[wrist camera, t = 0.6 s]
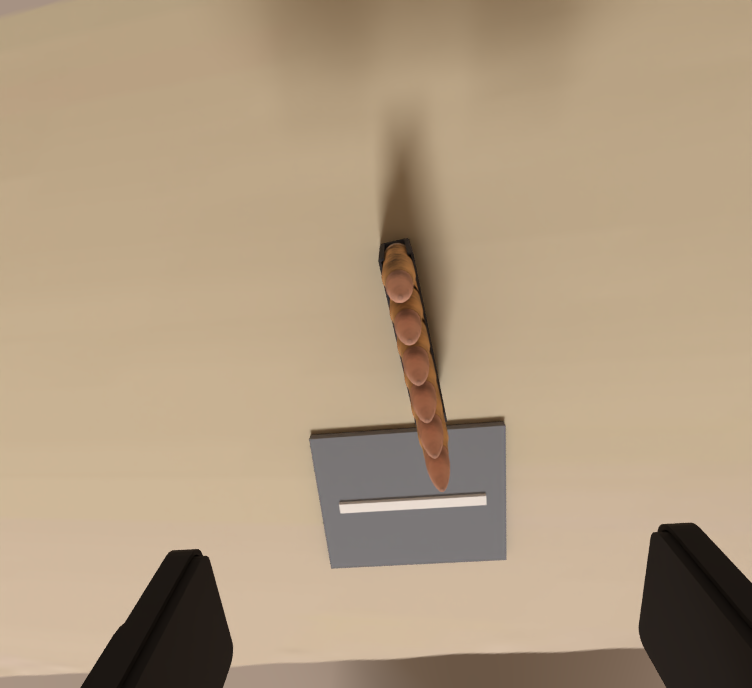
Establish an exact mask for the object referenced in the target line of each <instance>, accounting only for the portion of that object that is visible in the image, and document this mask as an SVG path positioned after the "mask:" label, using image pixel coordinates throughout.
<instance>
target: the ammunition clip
mask: <svg viewBox="0 0 752 688" xmlns="http://www.w3.org/2000/svg"><path fill="white" fill-rule="evenodd" d="M378 261H379V266H380V270H381V275H382V281H383V284H384V288H385V292H386V297H387V301H388V305H389V310H390V316H391V320H392V323H393V327H394V332H395V336H396V340H397V347H398V351H399V354H400V358H401V362H402V367H403V371H404V377H405V382H406V385H407V389H408V393H409V397H410V402H411V408H412V413H413V416H414V419H415V424H416V427H417V433H418V439H419V443H420V445H421V447H422V449H423V454H424V458H425V463H426V468H427V471H428V474H429V477H430V479H431V481H432V482H433V484H434V486H435V487H436V488H437V489H438V490H439V491H440V492H444V491H445V490H446V488H447V486H448V482H449V477H450V461H449V451H448V439H449V437H448V431H447V427H446V422H447V418H446V413H445V408H444V403H443V399H442V394H441V389H440V384H439V379H438V374H437V369H436V364H435V359H434V354H433V349H432V344H431V339H430V334H429V329H428V324H427V319H426V314H425V309H424V304H423V299H422V294H421V290H420V285H419V280H418V275H417V270H416V265H415V260H414V255H413V251H412V248H411V245H410V241H409V239H408V238H406V239H401V240H397V241H393V242H389V243H384V244H381V245H380V251H379V260H378Z"/></svg>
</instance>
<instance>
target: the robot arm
mask: <svg viewBox="0 0 752 688" xmlns="http://www.w3.org/2000/svg"><path fill="white" fill-rule="evenodd" d="M639 635H640V639H641V642H642V644H643V646H644V649H645V650H646V652H647V654H648V656H649V658H650V659H651V661H652V663H653V664H654V666H655V668H656V670H657V672H658V673H659V675H660V677H661V679H662V680H663V682H664V684H665V686H666V688H752V583H751V582H750V581H749V580H748V579H747V578H746V577H745V575H744V574H743V573H742V572H741V571H740V570H739V569H738V568H737V567H736V566H735V565H734V564H733V563H732V562H731V561H730V559H729V558H728V557H727V556H726V555H725V554H724V553H723V552H722V551H721V550H720V549H719V548H718V547H717V546H716V545H715V543H714V542H713V541H712V540H711V539H710V538H709V537H708V536H707V535H706V534H705V533H704V532H703V531H702V530H701V529H700V528H699V527H698V526H697V525H696V524H694V523H675V524H661V525H660V526H659V528H658V532H653V533H652V535H651V538H650V546H649V553H648V561H647V568H646V576H645V583H644V591H643V598H642V605H641V613H640V620H639ZM232 656H233V643H232V639H231V636H230V632H229V628H228V625H227V621H226V617H225V614H224V610H223V607H222V603H221V599H220V596H219V592H218V588H217V585H216V581H215V577H214V574H213V570H212V566H211V563H210V560H209V557H207V556H203V555H202V553H201V551H200V550H199V549H191V550H172V551H171V552H169V553H168V554H167V556H166V557H165V559H164V560H163V562H162V564H161V565H160V567H159V568H158V570H157V572H156V573H155V575H154V576H153V578H152V580H151V581H150V583H149V584H148V586H147V588H146V589H145V591H144V593H143V594H142V596H141V597H140V599H139V601H138V602H137V604H136V605H135V607H134V609H133V610H132V612H131V613H130V615H129V617H128V618H127V620H126V622H125V623H124V624H123V625H122V626H120V627H119V629H118V630H117V631H116V633H115V634H114V635H113V637H112V638H111V640H110V641H109V643H108V645H107V646H106V648H105V649H104V651H103V653H102V654H101V656H100V657H99V659H98V661H97V662H96V664H95V665H94V667H93V669H92V670H91V672H90V673H89V675H88V676H87V678H86V680H85V681H84V683H83V684H82V686H81V688H223V686H224V683H225V680H226V677H227V674H228V671H229V668H230V665H231V661H232Z"/></svg>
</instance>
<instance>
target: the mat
mask: <svg viewBox="0 0 752 688" xmlns="http://www.w3.org/2000/svg"><path fill="white" fill-rule="evenodd" d="M446 427H447V431H448V437H449V439H448V451H449V461H450V477H449V482H448V486H447V488H446V490H445V491H444V492H440V491H439V490H438V489H437V488H436V487H435V486H434V484H433V482H432V481H431V479H430V477H429V474H428V471H427V468H426V463H425V458H424V454H423V449H422V447H421V445H420V443H419V439H418V433H417V428H403V429H389V430H375V431H361V432H347V433H332V434H318V435H311V436H310V438H309V441H310V447H311V453H312V459H313V464H314V470H315V476H316V482H317V488H318V494H319V500H320V505H321V511H322V517H323V523H324V529H325V535H326V540H327V546H328V552H329V558H330V564H331V569H332V568H352V567H372V566H392V565H413V564H433V563H453V562H473V561H493V560H506V426H505V424H504V422H503V421H502V422H488V423H474V424H460V425H446Z"/></svg>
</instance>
